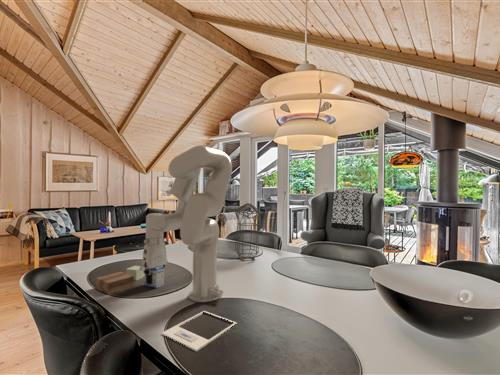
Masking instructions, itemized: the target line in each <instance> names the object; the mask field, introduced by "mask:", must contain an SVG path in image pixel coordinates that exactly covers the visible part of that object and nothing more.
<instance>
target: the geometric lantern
mask: <svg viewBox="0 0 500 375" xmlns="http://www.w3.org/2000/svg"><path fill="white" fill-rule="evenodd" d="M246 210H247V211H246ZM233 213H234V214H235V217H236V219H237V220H236V222H237V223H236V224H237V225H236V233H235V234H236V235H235V244H234V252H236V254H237V255H238V259H239V260H240V261H242V262H247V261H249V259H245V258H251V261H255V257H256V256H257V255H258V254H259V253H260V252H259V243H258V238H259V224H258V223H257V222H259V221H258V220H259V218H260V217H261V216H262V215H263V214H264V212H263V211H261V209H259V208H257V207H256V206H255V205H253V204H252V203H249V202H246V203H245V204H243V205H241V206H239V207H238V208H236V209H235V210H233ZM240 215H241V216H242V217H241V219H240V218H239V217H240ZM250 215H251V217H250ZM243 217H246V219H245V221H244V222H242V220H243ZM254 218H256V219H254ZM251 219H252V220H253V222H252V220H251ZM247 220H249V222H246V221H247ZM244 226H246V227H249V226H250V229H251V230H250V239H252V238H253V237H252V235H253V227H254V230H256V233H255V240H253V248H252V240H250V245H249V248H244V228H242V227H244ZM241 234H242V236H241ZM241 237H242V238H241ZM241 240H242V241H241ZM241 242H242V243H241ZM240 244H241V249H240ZM248 250H249V252H244V251H248ZM240 251H241V252H240ZM244 255H245V256H244ZM246 255H247V256H246Z"/></svg>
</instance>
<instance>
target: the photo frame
mask: <svg viewBox="0 0 500 375" xmlns="http://www.w3.org/2000/svg"><path fill="white" fill-rule="evenodd" d="M203 312H204V313H205V314H208V315H210V314H211V316H214V317H216V318H219V319H221V318H222V320H224V319H225V320H224V321H227V320H228V321H227V322H230V323H232V322H233V323H232V324H230V325H228V327H226V328H224V329H223V330H221V331H220V332H219V333H216V335H214V336H212V337H211V338H210V339H207V338H205V337H203V336H201V335H198V334H196V333H193V332H192V331H188V330H187V329H185V328H183V327H181V326H183V325H185V324H187V323H189V322H191V321H193V320H195V319H197V318H199V316H200V317H201V316H202V315H203ZM192 319H193V320H192ZM190 320H191V321H190ZM186 322H187V323H186ZM235 324H237V325H238V322H236V321H233V320H231V319H228V318H225V317H222V316H220V315H217V314H215V313H212V312H209V311H207V310H203V311H201V312H199V313H197V314H195V315H193V316H191V317H189V318H187V319H186V320H184V321H182V322H179V323H178V324H175V325H173V326H172V327H170V328H168V329H166V330H164V331H163V332H161V335H162V336H165V337H166V336H167V337H166V338H168V337H169V338H168V339H170V338H171V339H170V340H172V339H173V340H172V341H175V342H176V341H177V342H176V343H178V342H179V343H178V344H180V343H181V344H180V345H182V344H183V345H182V346H184V345H185V346H184V347H187V349H190V350H193V351H194V352H198V351H200V350H201V349H202V348H204V347H205V346H207V345H209V344H210V343H212V342H213V341H215V340H216V339H217V338H219V337H220V336H222V335H223V334H225V333H226V332H228V331H229V330H231V329H232V328H233V327H232V326H234V325H235ZM235 326H236V325H235ZM235 326H234V327H235ZM231 327H232V328H231ZM230 328H231V329H230ZM227 330H228V331H227ZM224 332H225V333H224ZM221 334H222V335H221Z"/></svg>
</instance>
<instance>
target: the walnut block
mask: <svg viewBox="0 0 500 375" xmlns="http://www.w3.org/2000/svg"><path fill="white" fill-rule="evenodd" d="M131 287H132V288H134V287H135V280H134V276H132V275H129V274H126V272H123V271H119V272H118V271H117V272H113V273H110V274H106V275H102V276H98V277H95V289H96V290H98V291H100V292H102V291H103V292H102V293H104V292H105V293H104V294H106V293H107V294H106V295H108V294H109V295H112V294H115V293H114V292H116V293H119V292H122V291H125V290H128V288H129V289H130V288H131ZM132 288H131V289H132ZM118 291H119V292H118ZM111 293H112V294H111Z"/></svg>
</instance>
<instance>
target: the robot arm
mask: <svg viewBox="0 0 500 375" xmlns="http://www.w3.org/2000/svg"><path fill="white" fill-rule="evenodd" d="M202 169H208V170H211V171H212V172H211V173H210V175H209V176H208V178H207V180H206V182H205V183H206V184H205V186H204V191H203V192H197V193H194V194H192V192H193V190H194V188H195V186H196V183H197V180H198V178H199V176H200V174H201V172H202ZM168 173H169V175H170V177H172V178H174V180H173V182H172V186H171V188H170V194H172V196H174V197H175V198H177V200H178V203H177V207H176V209H175V211H174V212H171V213H162V212H161V213H160V212H158V213H157V212H152V213H148V214H147V215H146V216H145V239H144V240H143V243H144V247H143V252H142V259H141V260H142V261H141V265H140V266H141V267H140V270H141V271H143V272H144V273H145V274H146V283H148V284H152V275H151V272H152V268H156V267H159V266H163V267H164V268H165V267H166V265H167V264H168V262H169V261H168V260H167V259H168V258H167V257H168V256H167V255H168V254H167V247H166V243H165V242H164V233H165V232H171V231H174V230H176V231H177V230H179V236H180V239H181V242H182V243H183V244H184V245H186V246H189V247H193V246H194V247H193V253H192V290H191V291H190V292H189V293H188V299H189V300H191V301H192V302H196V303H209V302H213V301H216V300H218V299H221V298H222V296H223V294H224V290H222V289H219V286H220V285H218V284H217V278H218V276H217V269H218V268H217V267H218V266H217V265H218V264H217V263H218V262H217V261H218V259H217V258H218V244H219V243H218V242H219V238H220V227H219V224H218V222H217V221H216V220H215V219H213V218H210V217H216V216H218V215H219V214H221V212H222V210H223V206H224V202H225V198H226V194H227V190H228V186H229V182H230V180H231V177H232V173H233V163H232V160H231V158H230V157H229V155H228V154H227V153H226V152H224V151H222V150H221V149H217V148H215V147H211V146H206V145H202V144H201V145H200V144H199V145H196V146H194V147H191V148H190V149H188V150H186V151H184V152H181V153H180V154H178V155H177V156H175V157H174V158H173V159H171V161H170V163H169V164H168ZM145 267H146V269H145ZM148 269H149V271H148Z"/></svg>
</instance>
